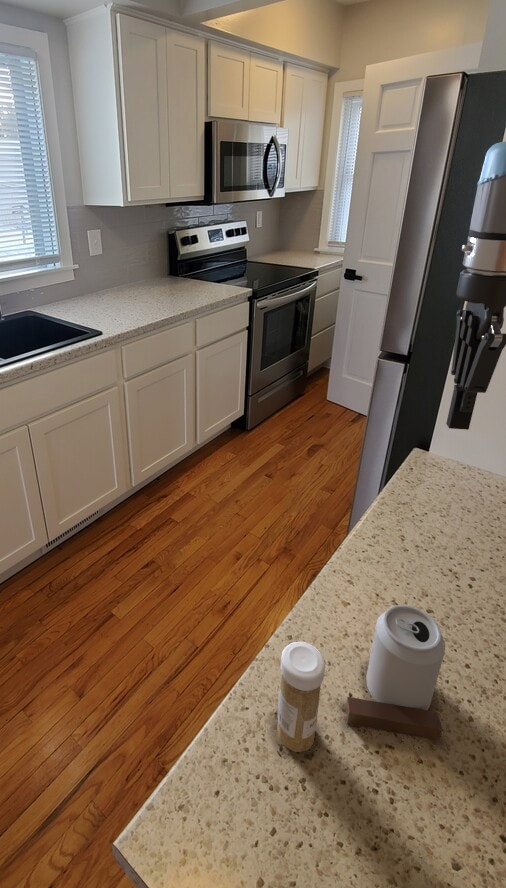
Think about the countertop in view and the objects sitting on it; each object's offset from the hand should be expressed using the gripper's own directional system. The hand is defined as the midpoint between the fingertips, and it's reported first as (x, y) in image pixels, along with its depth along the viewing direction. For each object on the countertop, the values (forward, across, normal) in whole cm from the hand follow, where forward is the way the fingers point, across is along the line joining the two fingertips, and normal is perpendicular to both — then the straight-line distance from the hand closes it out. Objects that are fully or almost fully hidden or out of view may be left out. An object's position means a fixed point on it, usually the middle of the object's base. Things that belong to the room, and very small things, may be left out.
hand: (457, 426), depth 74 cm
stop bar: (+24, +32, -12) cm, 42 cm away
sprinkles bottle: (+25, +35, -23) cm, 49 cm away
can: (+25, +27, -10) cm, 38 cm away
